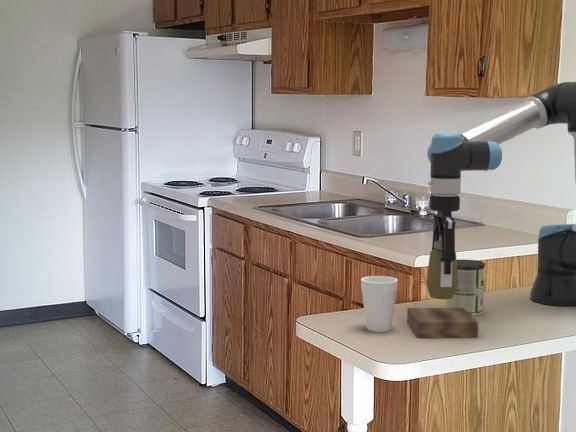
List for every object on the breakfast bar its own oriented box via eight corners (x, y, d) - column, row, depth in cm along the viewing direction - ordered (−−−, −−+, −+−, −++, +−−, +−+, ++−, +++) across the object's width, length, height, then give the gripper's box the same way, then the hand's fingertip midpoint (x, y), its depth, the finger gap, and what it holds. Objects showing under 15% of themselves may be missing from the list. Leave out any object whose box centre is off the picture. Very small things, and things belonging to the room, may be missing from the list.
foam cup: (395, 334, 202) (396, 283, 200) (359, 332, 203) (359, 282, 202) (397, 325, 211) (398, 276, 209) (362, 323, 213) (363, 275, 211)
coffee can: (444, 306, 231) (445, 259, 230) (480, 307, 230) (482, 259, 229) (448, 315, 221) (449, 265, 219) (485, 316, 220) (487, 266, 218)
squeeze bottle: (431, 292, 210) (433, 225, 208) (461, 296, 207) (463, 227, 204) (421, 298, 203) (423, 228, 201) (452, 302, 200) (454, 231, 197)
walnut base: (462, 322, 214) (463, 307, 213) (477, 337, 199) (478, 322, 198) (407, 322, 213) (407, 308, 213) (417, 338, 198) (418, 322, 198)
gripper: (422, 191, 212) (419, 275, 215) (439, 198, 191) (436, 291, 194) (450, 191, 212) (447, 275, 215) (470, 199, 192) (466, 291, 194)
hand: (442, 283), depth 204 cm, fingers closed on squeeze bottle, 8 cm apart
